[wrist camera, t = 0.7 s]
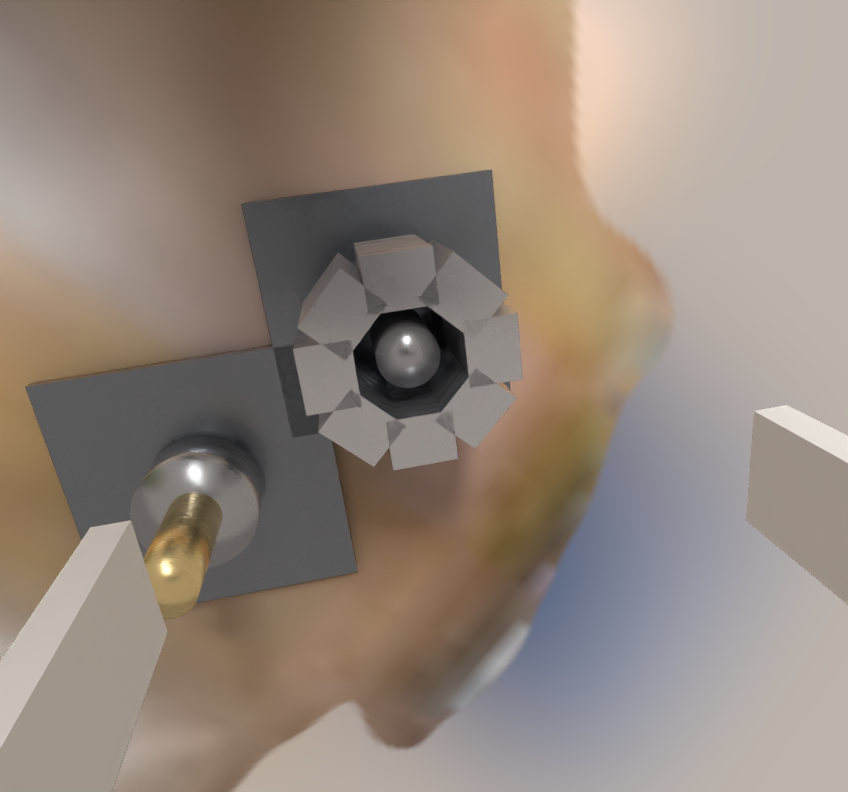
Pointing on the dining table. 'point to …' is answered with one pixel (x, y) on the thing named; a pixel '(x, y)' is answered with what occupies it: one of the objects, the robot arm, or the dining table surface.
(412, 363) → the stand
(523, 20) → the dining table surface
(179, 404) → the hub
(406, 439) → the ring
